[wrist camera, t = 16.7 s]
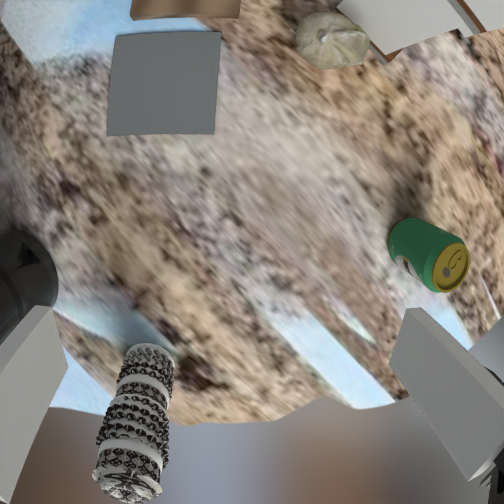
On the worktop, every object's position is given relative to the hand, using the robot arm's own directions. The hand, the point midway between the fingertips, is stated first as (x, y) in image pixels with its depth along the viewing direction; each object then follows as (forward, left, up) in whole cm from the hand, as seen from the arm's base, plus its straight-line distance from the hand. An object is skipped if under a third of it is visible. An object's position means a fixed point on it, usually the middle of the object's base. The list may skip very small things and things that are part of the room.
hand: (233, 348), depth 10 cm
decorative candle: (-11, -27, -32) cm, 43 cm away
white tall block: (+21, +29, -32) cm, 48 cm away
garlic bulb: (+12, +21, -32) cm, 40 cm away
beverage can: (+29, -5, -32) cm, 43 cm away
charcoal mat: (-8, +15, -32) cm, 36 cm away
